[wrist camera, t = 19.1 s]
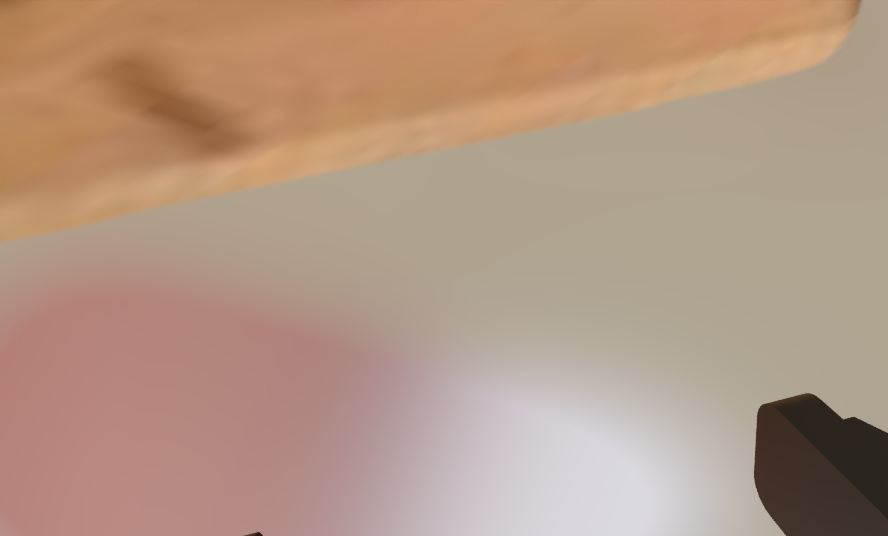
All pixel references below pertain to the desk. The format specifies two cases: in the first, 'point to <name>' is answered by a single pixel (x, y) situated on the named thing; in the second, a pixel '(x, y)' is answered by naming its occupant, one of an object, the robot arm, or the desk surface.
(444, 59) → the desk surface
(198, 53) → the desk surface
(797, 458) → the robot arm
